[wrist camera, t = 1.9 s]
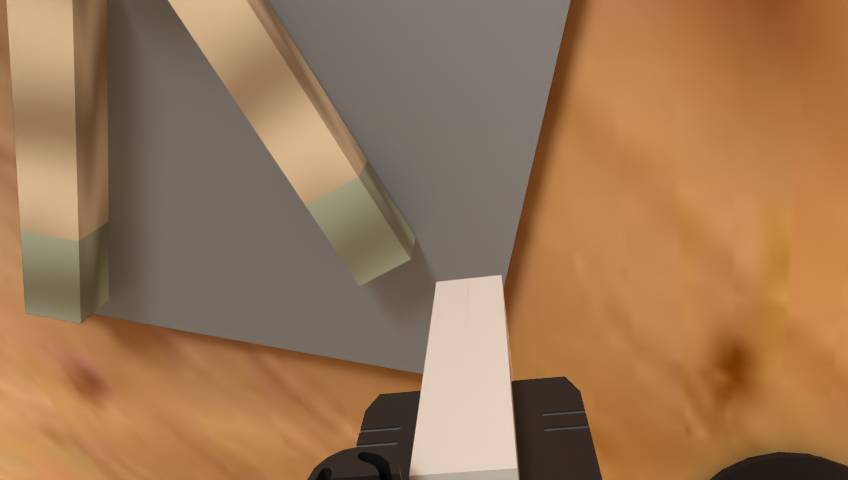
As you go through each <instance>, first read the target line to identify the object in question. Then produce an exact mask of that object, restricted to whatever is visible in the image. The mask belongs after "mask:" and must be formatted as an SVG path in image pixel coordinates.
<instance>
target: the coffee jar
mask: <svg viewBox="0 0 848 480" xmlns="http://www.w3.org/2000/svg"><path fill="white" fill-rule="evenodd" d="M710 480H848V466H846V465H843V464H840V463H837V462H834V461H831V460H828V459H825V458H822V457H818V456H813V455H810V454H801V453H784V452H777V453H771V454H766V455H761V456H755V457H750V458H747V459H745V460H743V461H740V462H738V463H736V464H734V465H732V466H730V467H727V468H725V469H723V470H721V471H720V472H719V473H718V474H716V475H715V476H714V477H713V478H712V479H710Z"/></svg>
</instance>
